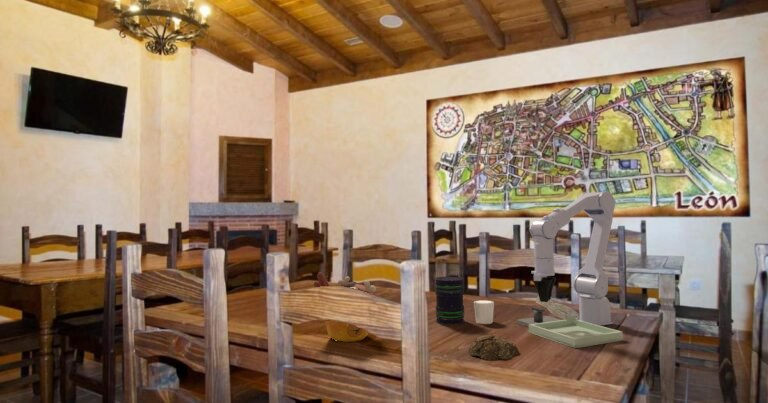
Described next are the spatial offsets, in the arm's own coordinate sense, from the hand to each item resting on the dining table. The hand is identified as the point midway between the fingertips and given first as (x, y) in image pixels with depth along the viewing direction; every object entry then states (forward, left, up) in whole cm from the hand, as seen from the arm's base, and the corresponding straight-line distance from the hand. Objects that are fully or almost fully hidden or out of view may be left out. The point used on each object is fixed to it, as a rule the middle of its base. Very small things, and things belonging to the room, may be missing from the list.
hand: (545, 301), depth 150 cm
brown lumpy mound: (+29, +12, -10) cm, 33 cm away
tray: (-3, +9, -9) cm, 13 cm away
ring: (-2, +3, -3) cm, 4 cm away
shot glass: (+10, -19, -10) cm, 23 cm away
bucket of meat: (+59, -21, -10) cm, 63 cm away
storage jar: (+20, -25, -10) cm, 33 cm away
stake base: (-5, -7, -9) cm, 12 cm away
